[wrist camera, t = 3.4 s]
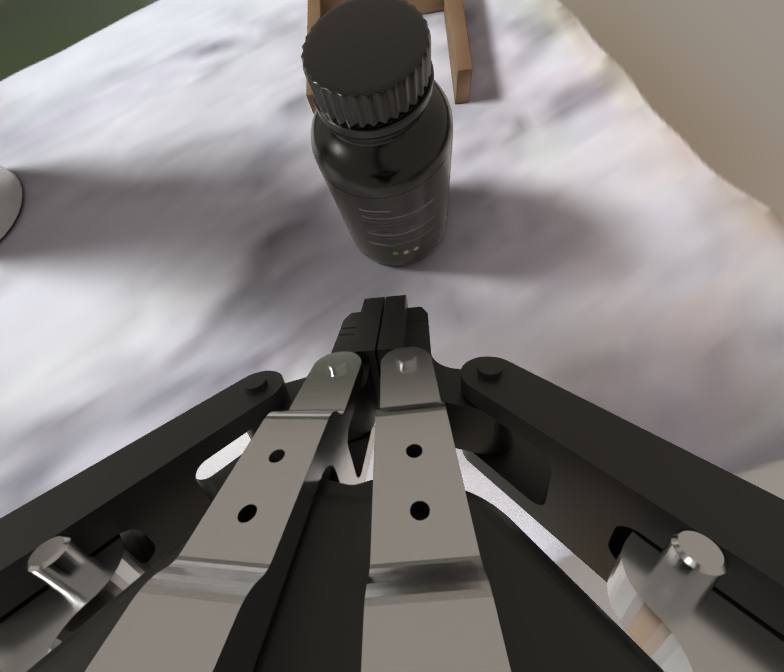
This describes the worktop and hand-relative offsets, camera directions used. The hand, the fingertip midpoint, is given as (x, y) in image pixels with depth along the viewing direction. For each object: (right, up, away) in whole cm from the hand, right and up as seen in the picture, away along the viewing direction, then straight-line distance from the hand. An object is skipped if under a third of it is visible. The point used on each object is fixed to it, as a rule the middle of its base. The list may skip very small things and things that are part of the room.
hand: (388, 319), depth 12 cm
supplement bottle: (+1, +7, +11) cm, 13 cm away
